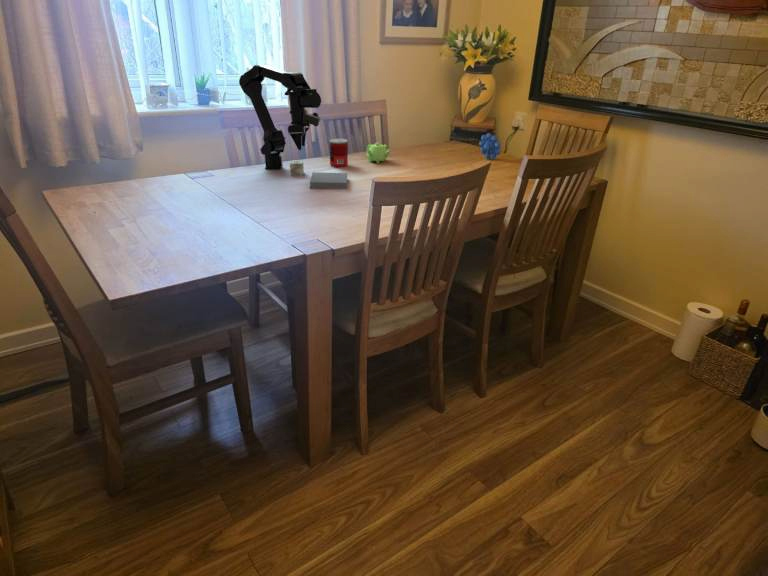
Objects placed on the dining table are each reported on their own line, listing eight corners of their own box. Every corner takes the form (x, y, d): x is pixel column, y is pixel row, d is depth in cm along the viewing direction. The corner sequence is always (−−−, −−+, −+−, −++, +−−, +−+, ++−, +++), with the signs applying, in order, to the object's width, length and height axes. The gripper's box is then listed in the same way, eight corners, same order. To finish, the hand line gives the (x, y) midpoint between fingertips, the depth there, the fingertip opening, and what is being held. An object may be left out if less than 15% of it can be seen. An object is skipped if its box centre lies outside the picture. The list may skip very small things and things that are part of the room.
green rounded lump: (363, 158, 240) (363, 140, 236) (387, 158, 242) (388, 140, 238) (366, 164, 230) (366, 145, 226) (391, 164, 232) (392, 145, 228)
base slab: (310, 188, 195) (309, 182, 194) (312, 178, 207) (312, 172, 206) (346, 189, 196) (346, 182, 194) (347, 179, 208) (347, 172, 207)
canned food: (351, 164, 228) (351, 139, 223) (340, 168, 222) (340, 142, 217) (337, 162, 232) (337, 137, 227) (326, 165, 226) (325, 140, 221)
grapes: (473, 158, 246) (476, 132, 241) (480, 155, 251) (483, 131, 245) (494, 162, 240) (497, 136, 234) (501, 160, 245) (504, 134, 239)
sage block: (290, 175, 211) (289, 163, 208) (291, 172, 215) (291, 160, 213) (302, 175, 211) (302, 163, 209) (303, 172, 215) (303, 160, 213)
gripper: (314, 109, 192) (318, 151, 198) (320, 104, 208) (324, 143, 215) (285, 110, 192) (290, 152, 199) (293, 105, 209) (297, 144, 215)
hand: (301, 147), depth 207 cm, fingers open, 9 cm apart
